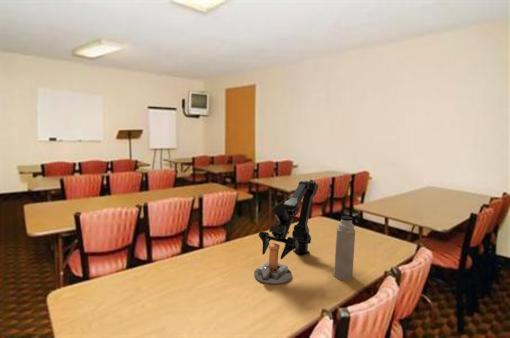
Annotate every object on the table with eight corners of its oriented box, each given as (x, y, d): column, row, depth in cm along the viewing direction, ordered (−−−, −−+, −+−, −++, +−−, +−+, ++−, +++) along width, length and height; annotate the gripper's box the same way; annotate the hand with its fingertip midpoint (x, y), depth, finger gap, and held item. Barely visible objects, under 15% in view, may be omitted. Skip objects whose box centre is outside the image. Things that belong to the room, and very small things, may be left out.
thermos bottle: (335, 271, 151) (338, 213, 147) (352, 274, 149) (356, 215, 145) (333, 278, 144) (336, 218, 140) (351, 282, 141) (355, 220, 137)
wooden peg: (277, 270, 149) (278, 243, 147) (279, 275, 144) (280, 247, 142) (266, 270, 148) (268, 243, 146) (268, 275, 143) (269, 247, 142)
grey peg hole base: (265, 264, 158) (266, 251, 157) (297, 273, 149) (298, 259, 148) (247, 277, 143) (247, 264, 142) (280, 288, 134) (281, 273, 134)
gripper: (260, 214, 151) (247, 244, 143) (297, 221, 141) (285, 253, 133) (268, 226, 158) (256, 254, 150) (303, 233, 149) (292, 264, 141)
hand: (271, 256), depth 144 cm, fingers open, 9 cm apart
